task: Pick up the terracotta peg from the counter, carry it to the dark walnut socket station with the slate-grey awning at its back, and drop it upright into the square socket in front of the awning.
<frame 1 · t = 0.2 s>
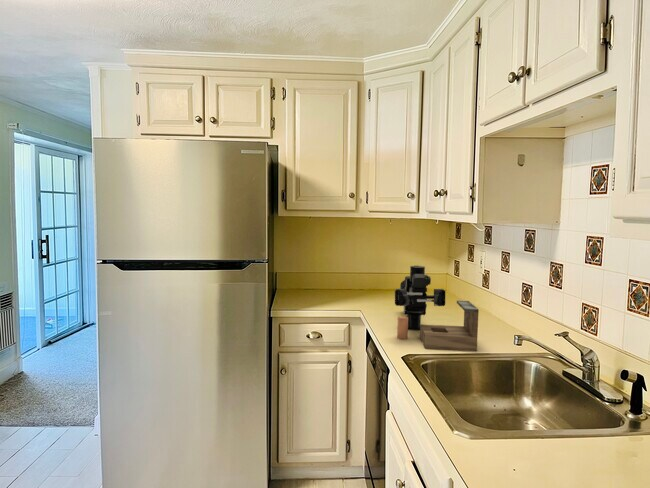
hand: (422, 302, 148), 16 cm above the worktop, tool horizontal, fingers open, 9 cm apart
peg: (402, 337, 160), on the worktop
socket station: (446, 343, 153), on the worktop
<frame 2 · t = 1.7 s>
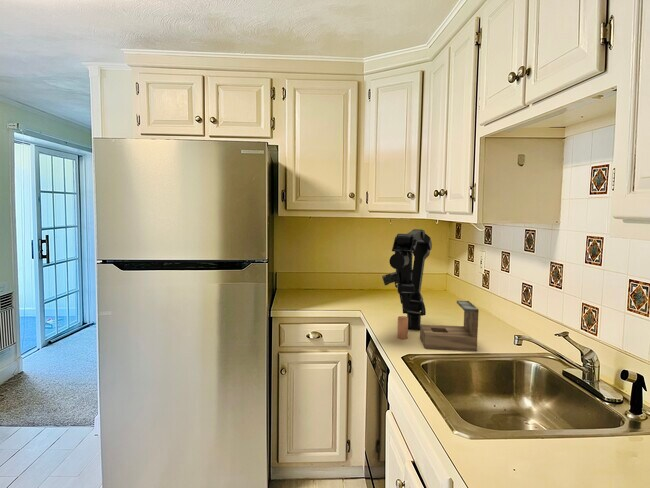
hand: (403, 306, 159), 12 cm above the worktop, tool pointing down, fingers open, 9 cm apart
nothing on the worktop moved.
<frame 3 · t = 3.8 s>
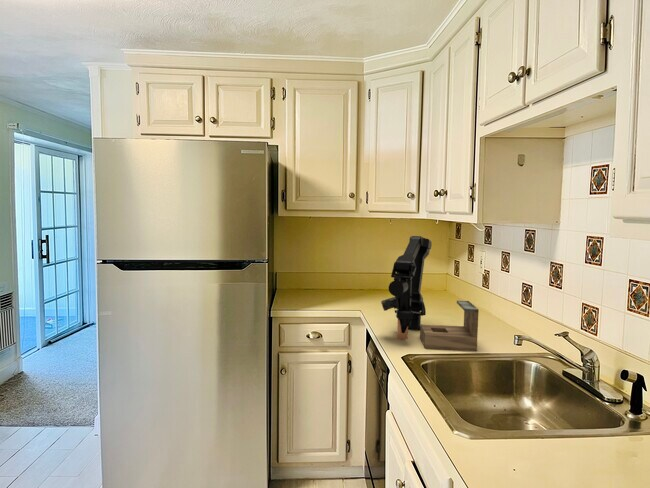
hand: (402, 331, 160), 3 cm above the worktop, tool pointing down, fingers closed on peg, 4 cm apart
peg: (402, 337, 160), on the worktop, touching gripper
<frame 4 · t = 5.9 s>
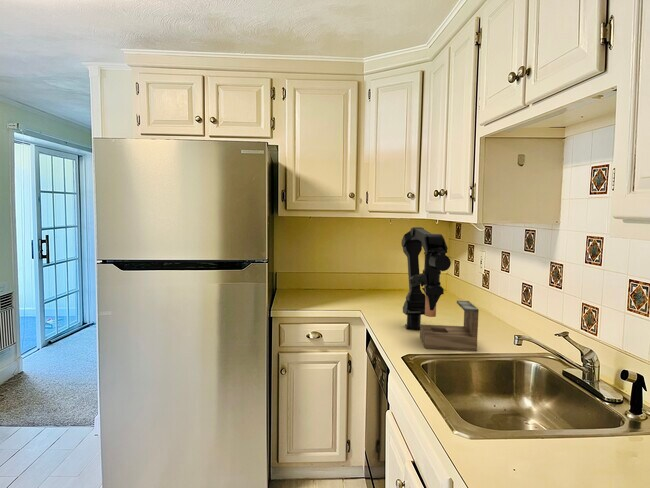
hand: (430, 308, 154), 13 cm above the worktop, tool pointing down, fingers closed on peg, 4 cm apart
peg: (430, 315, 154), point 10 cm above the worktop, touching gripper
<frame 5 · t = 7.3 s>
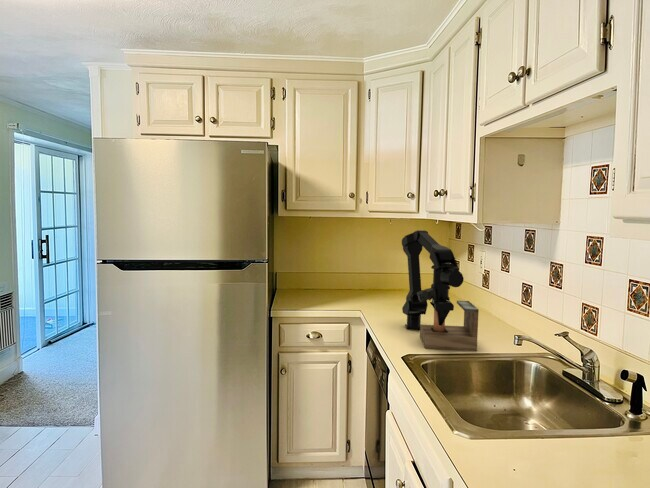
hand: (439, 323, 153), 7 cm above the worktop, tool pointing down, fingers closed on peg, 4 cm apart
peg: (438, 330, 153), point 5 cm above the worktop, touching gripper
when the fingers open (6 cm above the worktop, at t = 8.4 s): peg drops 2 cm, resting on socket station.
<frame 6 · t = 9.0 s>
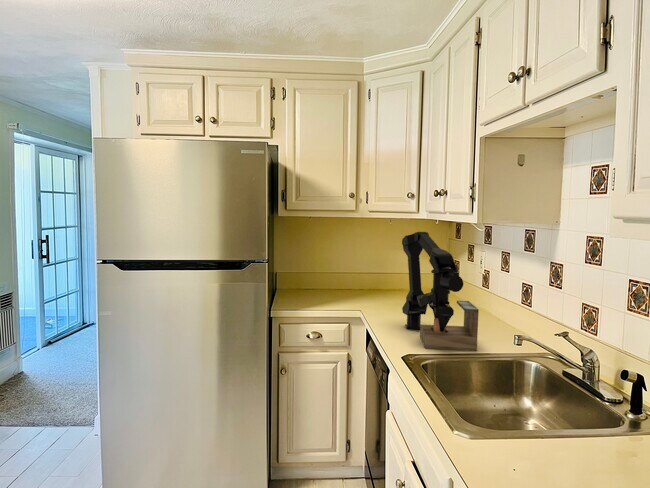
hand: (439, 328, 153), 6 cm above the worktop, tool pointing down, fingers open, 9 cm apart
peg: (438, 340, 154), point 1 cm above the worktop, touching socket station
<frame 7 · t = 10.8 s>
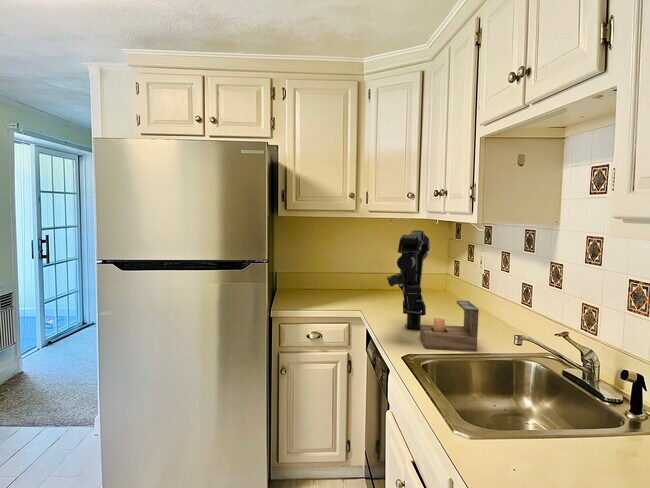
hand: (408, 307, 160), 12 cm above the worktop, tool pointing down, fingers open, 9 cm apart
nothing on the worktop moved.
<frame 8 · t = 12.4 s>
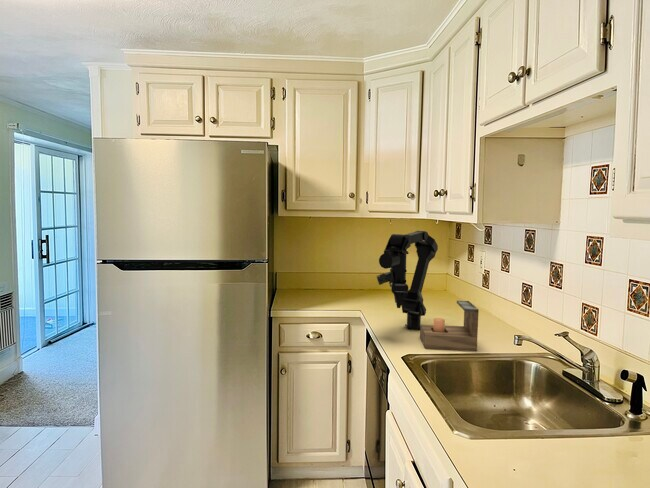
hand: (397, 305, 162), 12 cm above the worktop, tool pointing down, fingers open, 9 cm apart
nothing on the worktop moved.
at the end: peg 0.1 cm from the target spot on the socket station, point 1.0 cm above the socket station's base; peg tilted 1°; the gripper is holding nothing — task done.
